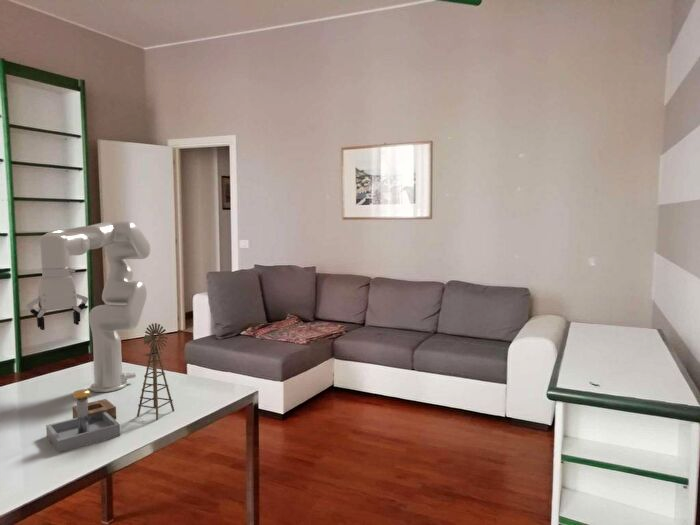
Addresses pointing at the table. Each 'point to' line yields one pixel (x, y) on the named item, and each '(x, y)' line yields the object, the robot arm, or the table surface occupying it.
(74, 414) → the socket block
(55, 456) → the table surface
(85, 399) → the pin
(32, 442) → the table surface
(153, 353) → the miniature windmill
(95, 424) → the tray
